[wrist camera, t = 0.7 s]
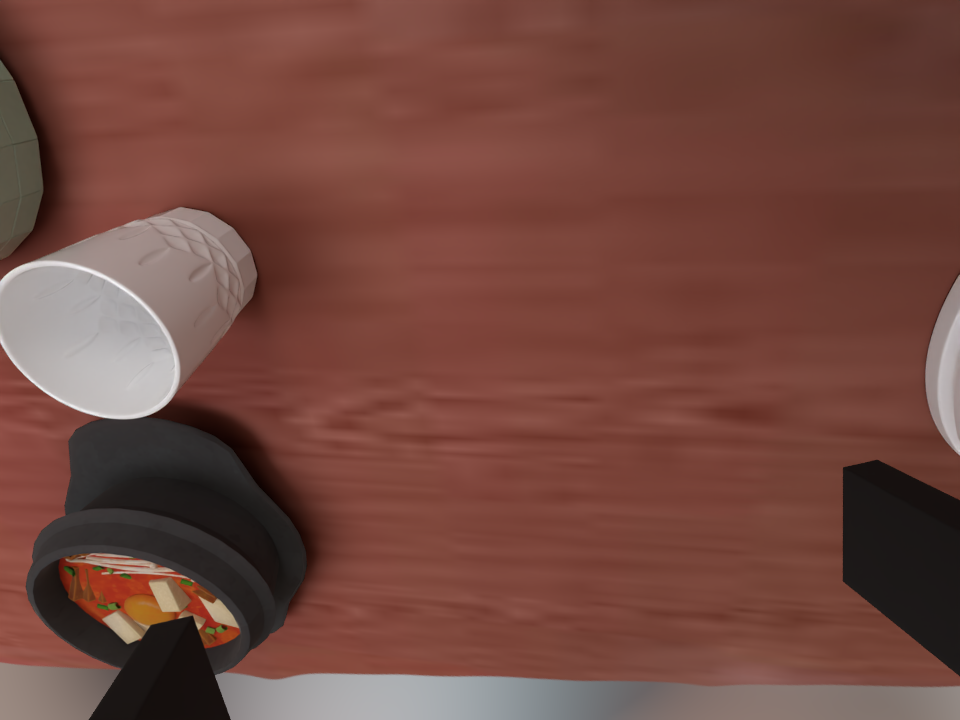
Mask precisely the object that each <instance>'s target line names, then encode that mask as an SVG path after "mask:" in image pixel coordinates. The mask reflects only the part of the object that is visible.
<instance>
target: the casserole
mask: <svg viewBox="0 0 960 720" xmlns="http://www.w3.org/2000/svg"><path fill="white" fill-rule="evenodd" d="M68 442H69V455H70V469H71V478H70V483H69V487H68V492H67V497H66V501H65V513H66V515H65V516H63V517H61V518H58V519H56V520H54V521H53V522H52V523H50V524H49V525H48V526H47V527H45V528H44V529H43V530H42V531H41V533H40V534H39V536H38V538H37V539H36V541H35V543H34V548H33V554H32V558H33V563H32V566H31V568H30V570H29V573H28V576H27V582H26V590H27V595H28V599H29V601H30V603H31V605H32V607H33V609H34V611H35V613H36V614H37V615H38V616H39V618H40V619H41V620H42V621H43V622H44V624H45V625H46V626H47V627H48V628H49V629H51V630H52V631H53V632H54V633H55V634H56V635H57V636H58V637H60V638H61V639H63V640H64V641H66V642H67V643H68V644H70V645H71V646H73V647H74V648H76V649H78V650H80V651H81V652H83V653H85V654H87V655H89V656H91V657H93V658H95V659H97V660H99V661H102V662H104V663H107V664H109V665H111V666H114V667H117V668H121V669H122V668H123V667H124V665H125V663H126V662H127V660H128V659H129V657H130V656H131V654H132V653H133V651H134V650H135V648H136V647H137V645H138V644H139V642H140V640H141V639H142V637H143V636H144V634H145V633H146V631H147V630H148V628H149V627H150V625H152V624H157V623H161V622H166V621H170V620H174V619H179V618H183V617H188V616H192V615H193V617H194V620H195V623H196V625H197V628H198V631H199V634H200V636H201V639H202V642H203V645H204V647H205V650H206V653H207V656H208V658H209V661H210V664H211V667H212V669H213V672H214V675H216V674H220V673H223V672H225V671H227V670H229V669H231V668H233V667H234V666H235V665H237V664H238V663H239V662H240V661H241V660H242V659H243V658H244V657H245V656H246V655H247V654H248V652H249V651H250V650H252V649H254V648H256V647H257V646H258V645H260V644H261V643H262V642H263V641H264V640H265V639H266V638H267V637H268V636H269V634H270V633H274V632H275V631H277V630H278V629H279V628H280V627H282V626H283V625H284V621H285V618H286V615H287V611H288V606H289V602H290V601H291V599H292V598H293V596H294V594H295V593H296V591H297V590H298V588H299V587H300V585H301V583H302V582H303V580H304V577H305V572H306V568H307V560H306V550H305V547H304V545H303V542H302V539H301V536H300V534H299V533H298V531H297V529H296V528H295V526H294V525H293V523H292V522H291V520H290V519H289V517H288V516H287V515H286V514H285V513H284V512H283V511H282V510H281V509H280V508H279V507H278V506H277V505H276V504H275V503H274V502H273V501H272V500H271V499H270V498H269V497H268V496H267V495H266V494H265V492H264V491H263V490H262V489H261V488H260V487H259V486H258V485H257V484H256V482H255V481H254V479H253V478H252V477H251V475H250V474H249V472H248V471H247V469H246V468H245V467H244V465H243V464H242V462H241V461H240V459H239V458H238V457H237V455H236V454H235V452H234V451H233V449H231V448H230V447H229V446H227V445H226V444H225V443H223V442H222V441H221V440H219V439H218V438H217V437H215V436H213V435H211V434H209V433H206V432H204V431H202V430H199V429H197V428H195V427H192V426H188V425H184V424H181V423H177V422H173V421H169V420H165V419H157V418H149V417H141V418H135V419H109V418H107V419H102V420H97V421H93V422H90V423H88V424H86V425H84V426H82V427H80V428H78V429H76V430H75V432H74V433H73V435H72V436H71V438H70V439H69V441H68Z"/></svg>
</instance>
